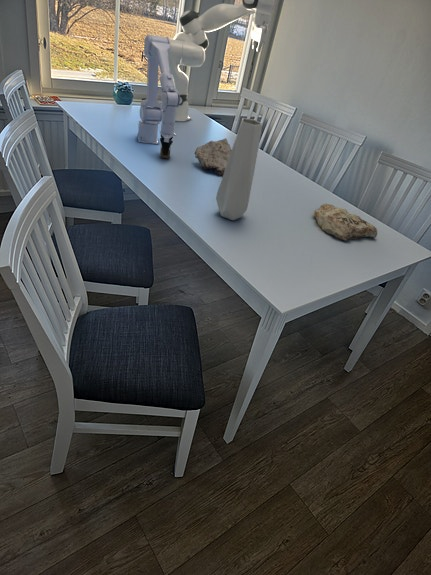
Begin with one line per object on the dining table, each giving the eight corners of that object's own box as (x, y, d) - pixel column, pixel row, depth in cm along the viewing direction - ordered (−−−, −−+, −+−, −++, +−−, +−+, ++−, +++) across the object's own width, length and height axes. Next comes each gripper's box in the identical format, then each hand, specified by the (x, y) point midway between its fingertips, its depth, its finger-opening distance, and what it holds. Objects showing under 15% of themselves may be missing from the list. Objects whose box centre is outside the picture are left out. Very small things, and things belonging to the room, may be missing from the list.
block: (169, 158, 170) (170, 149, 167) (159, 157, 169) (160, 148, 166) (169, 155, 173) (170, 146, 170) (160, 153, 172) (161, 144, 170)
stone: (347, 232, 131) (303, 198, 147) (341, 246, 135) (298, 211, 150) (382, 227, 141) (337, 195, 156) (375, 240, 144) (331, 207, 160)
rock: (234, 142, 173) (214, 126, 161) (245, 170, 166) (225, 155, 155) (210, 161, 180) (189, 148, 168) (219, 189, 174) (199, 176, 162)
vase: (253, 221, 137) (278, 128, 117) (226, 224, 131) (248, 127, 111) (236, 206, 144) (257, 116, 124) (210, 208, 139) (227, 114, 119)
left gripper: (177, 128, 157) (173, 160, 165) (177, 118, 168) (174, 148, 176) (160, 125, 156) (157, 157, 164) (161, 116, 167) (159, 146, 175)
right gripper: (273, 24, 196) (266, 54, 205) (262, 20, 212) (256, 48, 220) (261, 21, 195) (255, 52, 203) (252, 18, 210) (246, 46, 218)
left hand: (165, 153), depth 170 cm, fingers closed on block, 4 cm apart
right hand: (256, 50), depth 212 cm, fingers open, 8 cm apart
